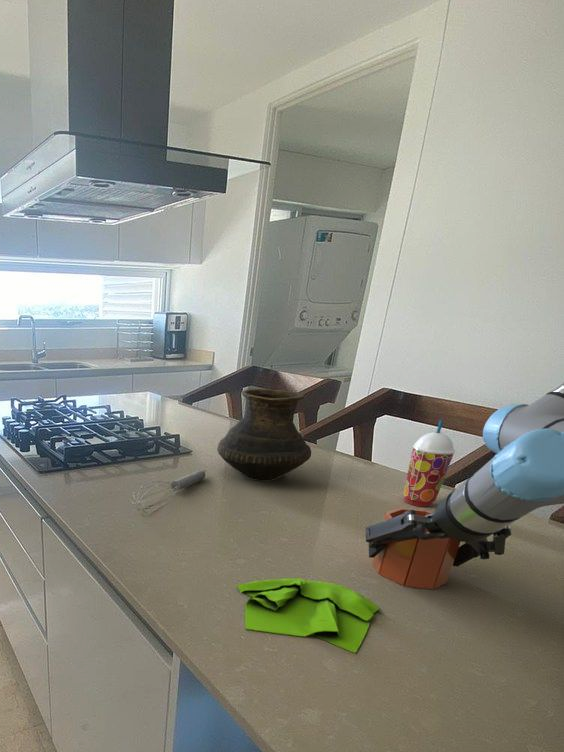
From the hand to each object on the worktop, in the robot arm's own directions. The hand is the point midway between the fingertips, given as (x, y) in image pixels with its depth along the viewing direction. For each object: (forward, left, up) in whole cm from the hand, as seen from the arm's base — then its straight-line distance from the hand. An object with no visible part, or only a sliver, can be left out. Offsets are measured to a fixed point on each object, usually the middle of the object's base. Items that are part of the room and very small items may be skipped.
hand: (412, 554), depth 86 cm
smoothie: (+2, -39, -3) cm, 39 cm away
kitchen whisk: (+52, -7, -3) cm, 53 cm away
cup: (+2, -4, +2) cm, 5 cm away
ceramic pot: (+40, -35, -3) cm, 53 cm away
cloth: (+12, +24, -3) cm, 27 cm away
